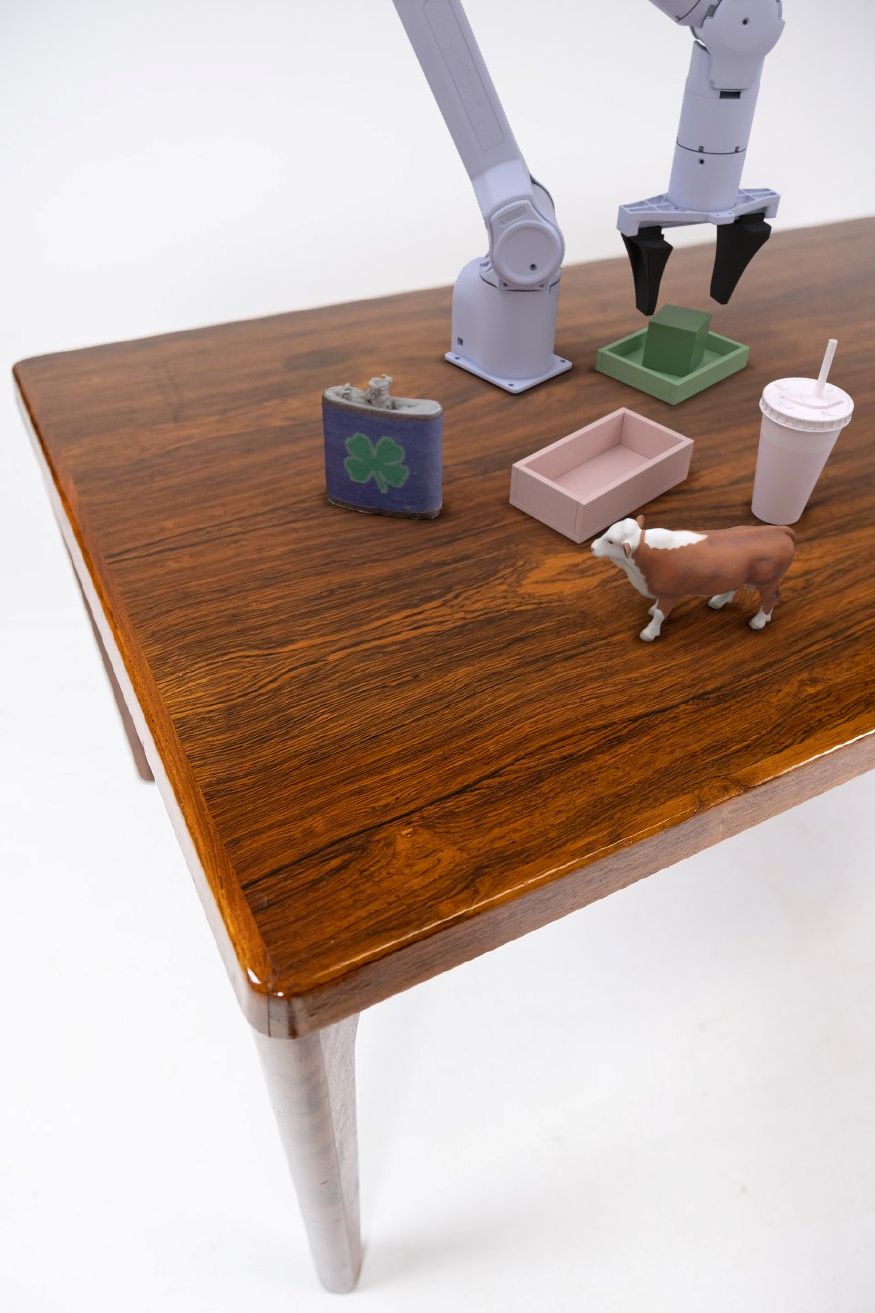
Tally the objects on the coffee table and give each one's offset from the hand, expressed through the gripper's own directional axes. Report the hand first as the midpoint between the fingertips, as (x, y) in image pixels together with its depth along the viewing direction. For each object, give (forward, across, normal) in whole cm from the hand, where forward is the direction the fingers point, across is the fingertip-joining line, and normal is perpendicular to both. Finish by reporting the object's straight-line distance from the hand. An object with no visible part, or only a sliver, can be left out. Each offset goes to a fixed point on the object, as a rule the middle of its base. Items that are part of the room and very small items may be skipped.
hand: (681, 305), depth 92 cm
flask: (+6, -32, -13) cm, 36 cm away
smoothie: (+6, -4, -24) cm, 25 cm away
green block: (+6, 0, 0) cm, 6 cm away
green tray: (+6, 0, 0) cm, 6 cm away
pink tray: (+6, -16, -17) cm, 24 cm away
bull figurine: (+6, -18, -33) cm, 38 cm away
